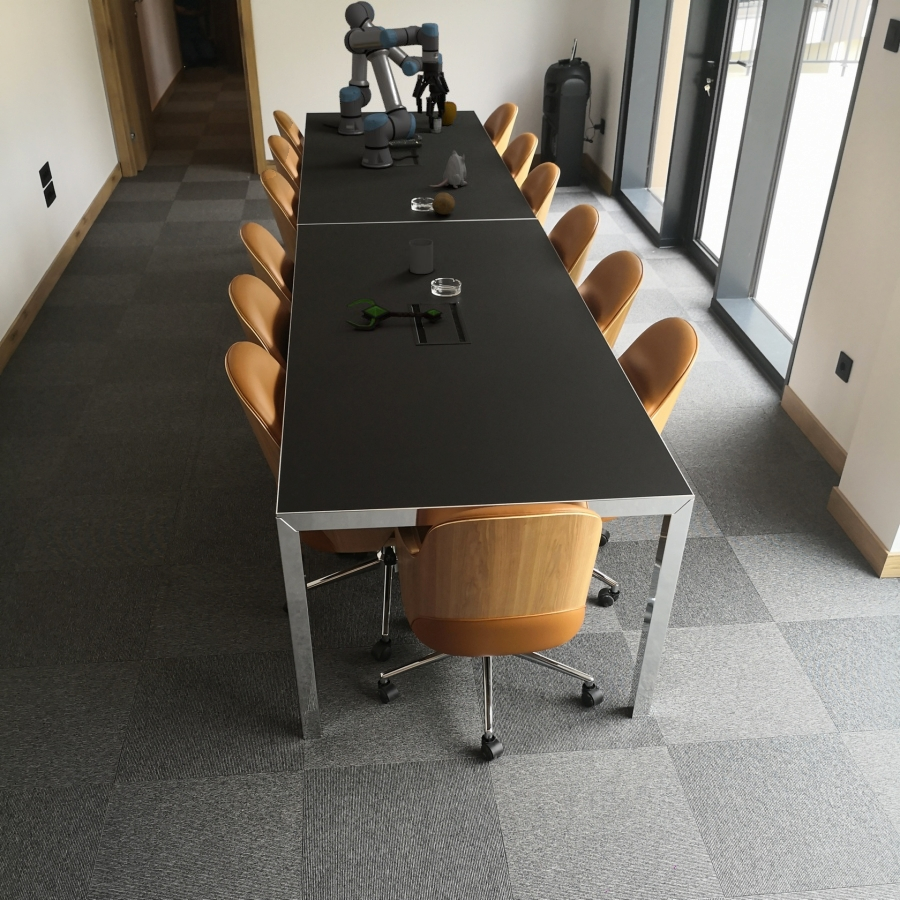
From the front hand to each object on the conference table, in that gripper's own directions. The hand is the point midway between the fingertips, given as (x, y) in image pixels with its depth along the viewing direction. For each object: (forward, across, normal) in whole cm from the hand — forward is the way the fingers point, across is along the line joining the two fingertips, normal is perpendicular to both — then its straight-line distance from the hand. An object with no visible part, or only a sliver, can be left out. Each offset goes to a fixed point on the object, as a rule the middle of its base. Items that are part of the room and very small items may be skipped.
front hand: (431, 111), depth 401 cm
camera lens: (+27, +56, +65) cm, 90 cm away
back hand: (+25, +56, +65) cm, 89 cm away
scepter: (+29, -119, -125) cm, 175 cm away
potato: (+29, -37, -52) cm, 69 cm away
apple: (+27, +73, +74) cm, 108 cm away
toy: (+28, -11, -24) cm, 39 cm away
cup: (+29, -84, -96) cm, 131 cm away
